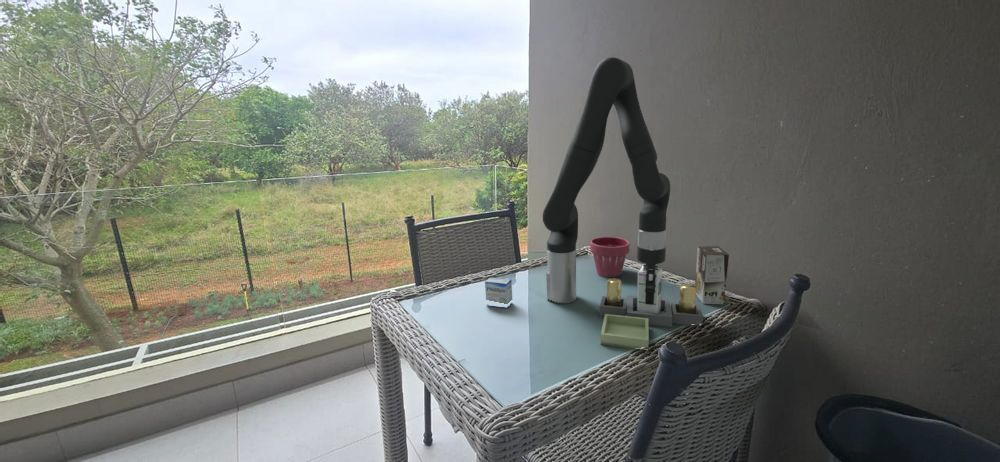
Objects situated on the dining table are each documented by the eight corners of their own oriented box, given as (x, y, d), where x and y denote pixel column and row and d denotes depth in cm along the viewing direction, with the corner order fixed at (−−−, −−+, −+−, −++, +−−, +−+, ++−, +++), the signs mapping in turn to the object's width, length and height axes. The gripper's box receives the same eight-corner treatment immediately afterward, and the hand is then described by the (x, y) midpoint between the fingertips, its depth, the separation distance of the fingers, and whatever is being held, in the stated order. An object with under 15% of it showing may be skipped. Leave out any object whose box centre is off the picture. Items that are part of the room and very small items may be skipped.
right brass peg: (678, 321, 108) (680, 288, 106) (677, 314, 112) (679, 283, 109) (694, 322, 107) (696, 289, 104) (692, 316, 110) (695, 284, 108)
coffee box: (725, 304, 116) (730, 254, 112) (702, 304, 117) (706, 254, 113) (715, 292, 125) (719, 245, 121) (693, 292, 126) (697, 245, 122)
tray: (600, 344, 99) (600, 334, 98) (604, 323, 110) (605, 313, 109) (648, 350, 95) (648, 340, 94) (648, 328, 106) (648, 318, 105)
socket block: (598, 318, 112) (598, 309, 112) (603, 301, 123) (603, 293, 122) (703, 330, 103) (704, 320, 102) (697, 310, 113) (698, 301, 113)
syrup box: (657, 321, 109) (659, 273, 105) (636, 316, 112) (637, 270, 108) (660, 312, 114) (663, 267, 110) (640, 309, 117) (641, 264, 113)
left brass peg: (606, 313, 115) (606, 282, 113) (607, 307, 119) (607, 277, 116) (620, 315, 114) (620, 284, 111) (620, 309, 118) (621, 278, 115)
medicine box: (486, 306, 125) (484, 281, 123) (491, 300, 129) (489, 276, 127) (508, 308, 122) (506, 283, 120) (513, 303, 126) (511, 278, 124)
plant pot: (635, 271, 147) (636, 239, 143) (618, 283, 137) (618, 249, 134) (601, 264, 156) (601, 234, 153) (583, 274, 147) (583, 243, 143)
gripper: (637, 237, 115) (636, 288, 119) (636, 251, 102) (635, 308, 106) (664, 238, 113) (662, 290, 117) (667, 253, 100) (664, 311, 104)
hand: (649, 298), depth 112 cm, fingers closed on syrup box, 6 cm apart
